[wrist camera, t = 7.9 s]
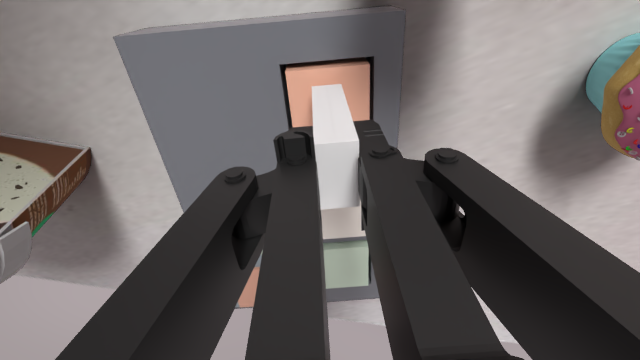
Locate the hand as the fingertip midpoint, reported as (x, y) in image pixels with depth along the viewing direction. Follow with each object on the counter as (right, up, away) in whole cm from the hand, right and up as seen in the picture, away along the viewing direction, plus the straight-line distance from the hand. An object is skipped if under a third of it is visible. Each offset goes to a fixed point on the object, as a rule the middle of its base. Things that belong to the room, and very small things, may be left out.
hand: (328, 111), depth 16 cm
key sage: (+1, -9, +10) cm, 14 cm away
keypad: (-3, -3, +8) cm, 9 cm away
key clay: (0, +2, +3) cm, 4 cm away
